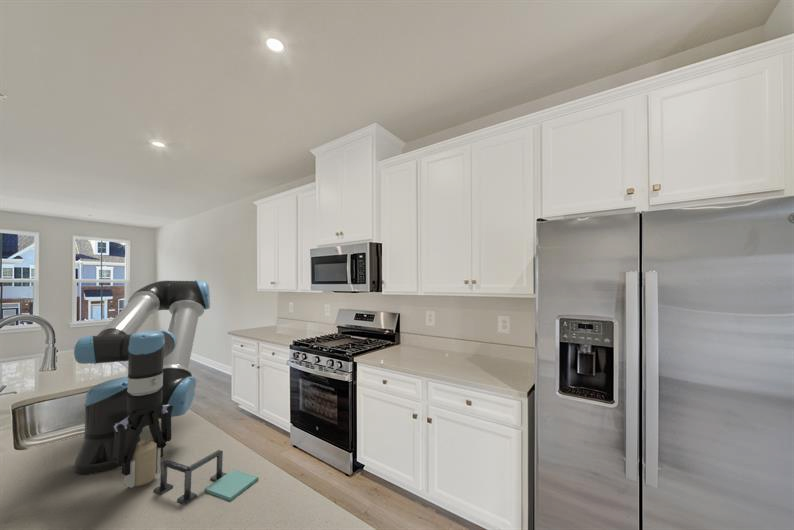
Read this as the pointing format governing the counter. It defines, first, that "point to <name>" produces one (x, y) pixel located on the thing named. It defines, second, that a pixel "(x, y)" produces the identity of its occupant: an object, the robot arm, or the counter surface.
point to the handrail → (188, 475)
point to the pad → (231, 484)
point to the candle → (145, 461)
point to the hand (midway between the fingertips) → (142, 478)
